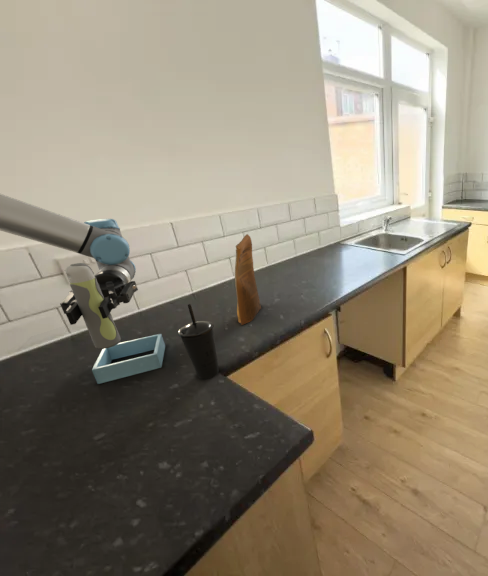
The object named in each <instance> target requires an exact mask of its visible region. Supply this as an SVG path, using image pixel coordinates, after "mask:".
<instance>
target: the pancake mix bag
mask: <svg viewBox="0 0 488 576" xmlns="http://www.w3.org/2000/svg"><path fill="white" fill-rule="evenodd" d="M253 258H254V257H253V243H252V238H251V236H250V234H249V233H246V234H245V235H244V236H243V238H242V239H241V240H240V241H239V242H238V243H237V244H236V245H235V263H234V284H235V285H234V286H235V290H236V291H235V293H236V315H237V321H238V324H240V326H244V325H245V324H248V323H250V322H252V321H254V319H255V318H256V316H257V315H258V313H259V312H260V311H261V309H262V305H261V301H260V296H259V291H258V287H257V286H258V285H257V280H256V277H255V268H254V259H253Z"/></svg>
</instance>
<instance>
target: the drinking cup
mask: <svg viewBox="0 0 488 576" xmlns="http://www.w3.org/2000/svg"><path fill="white" fill-rule="evenodd" d="M187 307H188V308H187V309H188V311H189V316H190V319H191V322H189V323H188V324H186V325H184V326H182V327H181V328H179V329H178V331H177V335H178V336H179V337H180V339H181V341H182V343H183V346H184V347H185V350H186V352H187V355H188V358H189V360H190V361H191V364H192V366H193V368H194V370H195V373H196V375H197V377H198V379H200V380H208V379H211V378H214V377H215V376H216V375H218V374H219V372H220V371H219V370H220V368H219V363H218V356H217V349H216V341H215V335H214V323H213V322H212V321H208V320H198V321H196V318H195V315H194V310H193V307H192V304H191V303H189V304H187Z"/></svg>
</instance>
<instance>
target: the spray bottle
mask: <svg viewBox="0 0 488 576" xmlns="http://www.w3.org/2000/svg"><path fill="white" fill-rule="evenodd" d="M65 274H66V277H67V279H68V282H69V286H70V289H71V290H72V291H73V294H74V296H75V299H76V301H77V304H78V306H79V309H80V311H81V314H82V316H81V317H82V319H83V321H84V323H85V326H86V328H87V330H88V334H89V336H90V339H91V341H92V344H93V346H94V348H96V349H98V350H102V349H105V348H110V347H112V346H115V345H117V344H118V343H121V340H122V338H121V335H120V333H119V331H118V328H117V327H116V326H117V325H116V324H115V321H114V318H113V316H112V314H111V312H110V314H109V315H108V317H107V318H104V319H103V318H102V315H101V313H100V310H99V308H98V307H99V306H100V304H101V303H102V301H103V300H104V296H103V294H102V291H101V289H100V287H99V284H98V282H97V279H96V277H95V273H94V271H93V269H92V267H91V266H90V265H89V264H87V263H85V262H77V263H72V264H70V265H68V266H66V268H65Z"/></svg>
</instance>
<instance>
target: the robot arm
mask: <svg viewBox="0 0 488 576" xmlns="http://www.w3.org/2000/svg"><path fill="white" fill-rule="evenodd" d="M0 231H1V232H5V233H8V234H11V235H15V236H18V237H21V238H24V239H28V240H33V241H35V242H38V243H42V244H45V245H49V246H53V247H56V248H60V249H63V250H65V251H70V252H74V253H76V254H79V255H82V256H85V257H89V258H93V259H94V260H95V262H96V265H97V267H98V271H97V272H96V273H94V276H95V277H96V279H97V282H98V284H99V287H100V289H101V291H102V294H103V296H104V300H103V301H102V303H101V304H100V306H99V307H98V308H99V310H100V313H101V315H102V318H103V319H104V318H107V317H108V315H109V314H110V313H111V312H112V311H113V310H114V309H117V308H118V306H120V305H121V304H122V303H123V304H129V303H130V302H131V300H132V298H133V296H134V294H135V293H136V292H137V291H138V290H139V288H138V285H137V283H136V282H137V281H135V280H133V279H134V278H135V276H136V269H137V268H136V265H135V263H134V262H133V261H132V260H131V258H130V252H131V250H130V244H129V242H128V240H127V239H125V238H124V237H123V235H122V232H121V228H120V227H119V224H118V222H117V220H116V219H114V218H98V219H91V220H86V221H84V222H82V221H80V220H77V219H73V218H70V217H69V216H66V215H62V214H60V213H56V212H55V211H52V210H47V209H45V208H42V207H40V206H36V205H34V204H31V203H28V202H26V201H22V200H19V199H17V198H14V197H11V196H8V195H5V194H2V193H0ZM59 305H60V308H61V310H62V312H63V314H64V315H65V316H66V318H67V320H68V322H69V325H70V326H72V325H76V324H77V322H78V321H79V320H80V318H81V317H83V316H82V314H81V311H80V309H79V306H78V304H77V301H76V299H75V296H74V294H73V291H72V289H71V290H70V291H68V295H67V296H66V297H65V298H64V299H63V300H62V301H61V302H60V303H59Z"/></svg>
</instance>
